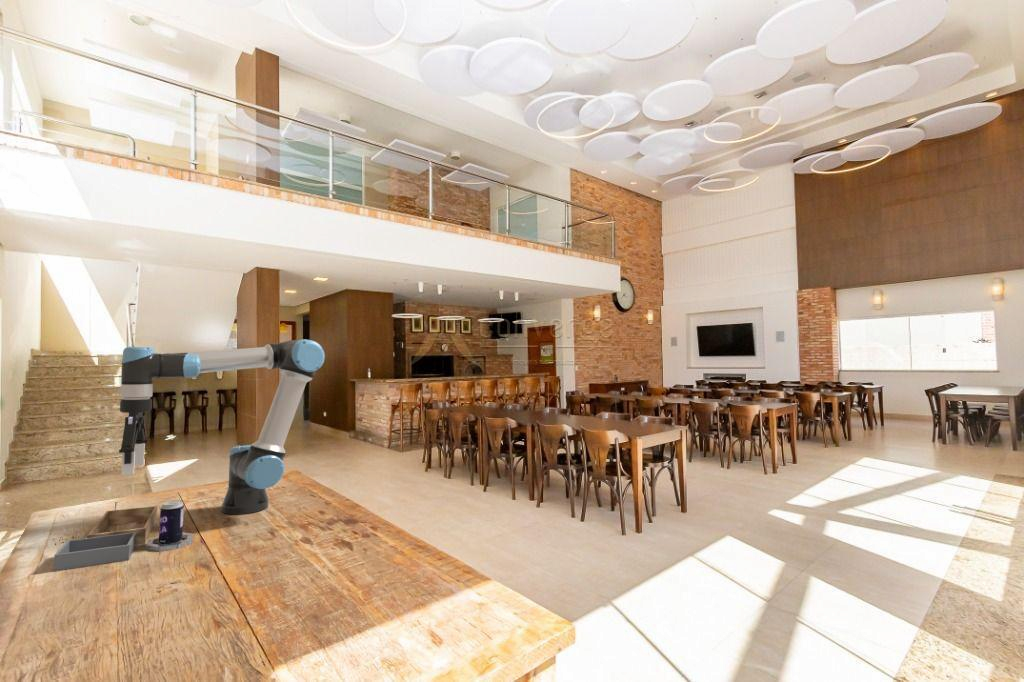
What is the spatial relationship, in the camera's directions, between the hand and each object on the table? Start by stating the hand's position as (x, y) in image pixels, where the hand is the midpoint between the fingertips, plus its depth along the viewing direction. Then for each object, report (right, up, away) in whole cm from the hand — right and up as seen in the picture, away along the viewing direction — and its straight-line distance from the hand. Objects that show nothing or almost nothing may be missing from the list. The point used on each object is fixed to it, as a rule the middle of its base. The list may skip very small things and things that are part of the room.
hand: (133, 469), depth 142 cm
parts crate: (-7, -22, +6) cm, 24 cm away
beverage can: (+11, -22, 0) cm, 25 cm away
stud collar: (+11, -22, 0) cm, 24 cm away
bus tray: (-1, -21, -11) cm, 24 cm away
